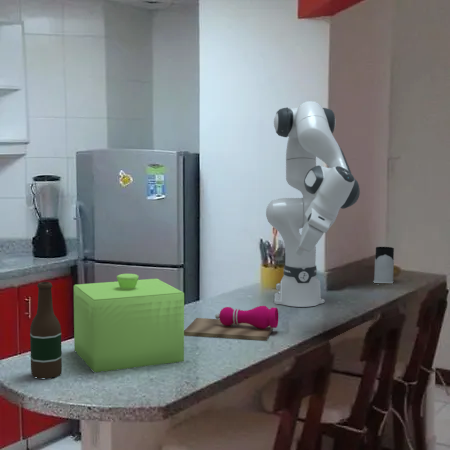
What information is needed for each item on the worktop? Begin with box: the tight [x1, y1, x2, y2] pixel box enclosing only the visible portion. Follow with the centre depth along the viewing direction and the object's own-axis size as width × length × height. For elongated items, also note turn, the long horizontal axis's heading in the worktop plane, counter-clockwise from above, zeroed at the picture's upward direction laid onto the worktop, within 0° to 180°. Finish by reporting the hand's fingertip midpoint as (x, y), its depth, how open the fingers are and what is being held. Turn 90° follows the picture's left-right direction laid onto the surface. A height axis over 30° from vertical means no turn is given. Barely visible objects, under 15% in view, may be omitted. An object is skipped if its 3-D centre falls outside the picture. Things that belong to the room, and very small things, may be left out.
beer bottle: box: [29, 281, 63, 379], centre depth 189 cm, size 8×8×24 cm
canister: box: [73, 273, 185, 373], centre depth 206 cm, size 25×21×23 cm
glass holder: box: [372, 246, 395, 284], centre depth 318 cm, size 9×14×15 cm, turn 170°
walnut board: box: [184, 317, 274, 341], centre depth 236 cm, size 26×18×1 cm
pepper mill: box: [214, 305, 279, 329], centre depth 235 cm, size 7×7×20 cm
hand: (298, 253), depth 234 cm, fingers closed
